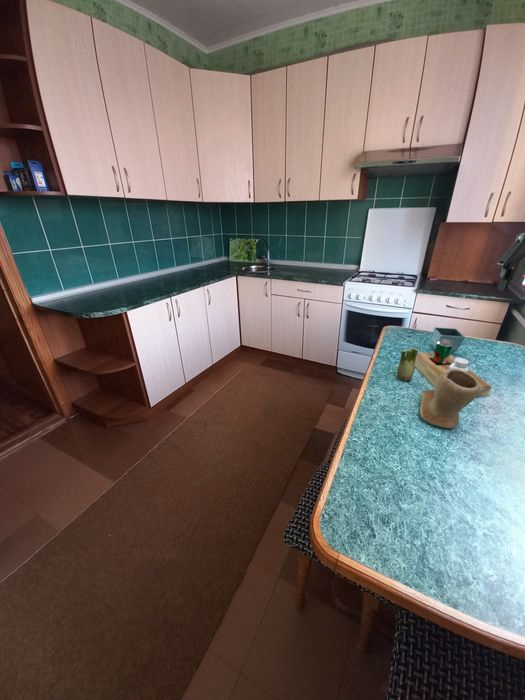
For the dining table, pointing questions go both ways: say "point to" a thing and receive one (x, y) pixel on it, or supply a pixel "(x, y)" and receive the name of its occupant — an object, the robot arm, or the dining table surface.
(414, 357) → the fennel bulb
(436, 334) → the flower pot
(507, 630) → the dining table surface
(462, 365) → the pill bottle
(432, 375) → the socket block
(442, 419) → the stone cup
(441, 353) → the soda can
